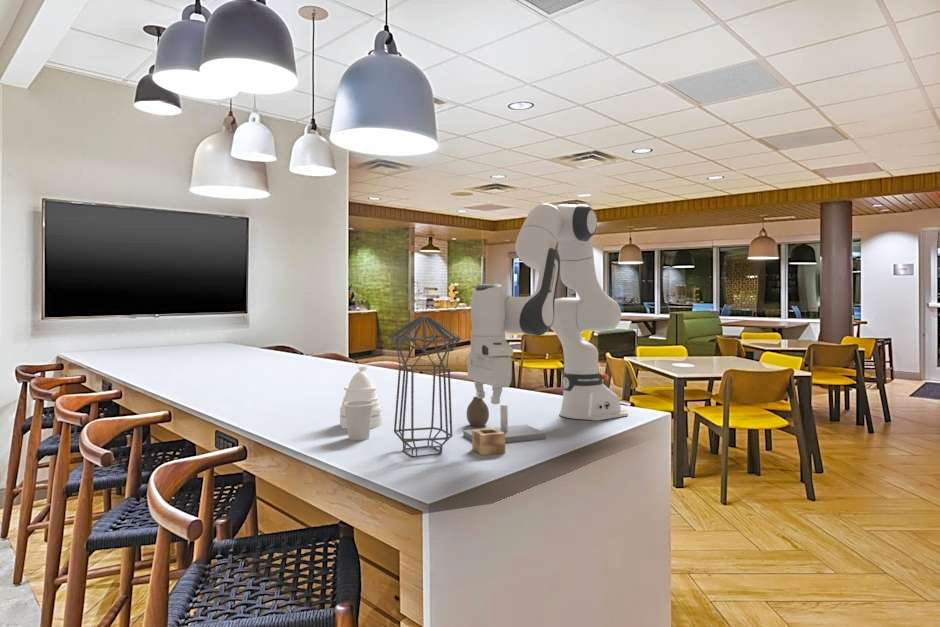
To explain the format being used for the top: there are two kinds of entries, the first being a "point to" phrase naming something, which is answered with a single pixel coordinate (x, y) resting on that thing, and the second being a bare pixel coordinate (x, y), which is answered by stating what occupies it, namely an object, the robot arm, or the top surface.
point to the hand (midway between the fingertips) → (487, 400)
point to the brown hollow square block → (488, 441)
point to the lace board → (512, 429)
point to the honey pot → (362, 397)
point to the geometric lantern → (405, 367)
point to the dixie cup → (358, 418)
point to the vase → (477, 412)
